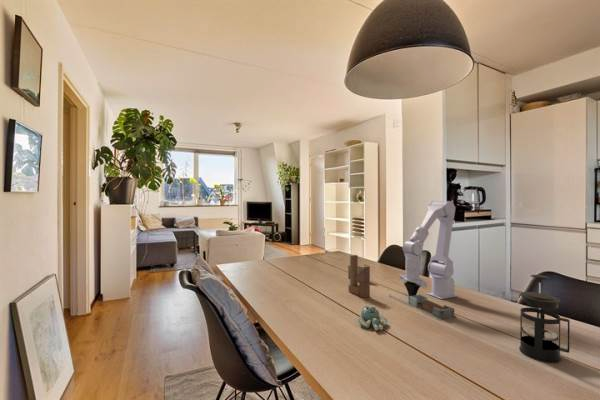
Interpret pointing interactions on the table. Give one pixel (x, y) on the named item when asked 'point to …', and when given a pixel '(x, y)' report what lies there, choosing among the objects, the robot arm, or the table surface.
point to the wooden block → (359, 278)
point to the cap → (416, 299)
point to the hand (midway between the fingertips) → (412, 299)
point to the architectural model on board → (358, 269)
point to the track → (416, 307)
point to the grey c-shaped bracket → (443, 312)
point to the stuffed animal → (372, 318)
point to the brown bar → (431, 305)
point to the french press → (541, 327)
